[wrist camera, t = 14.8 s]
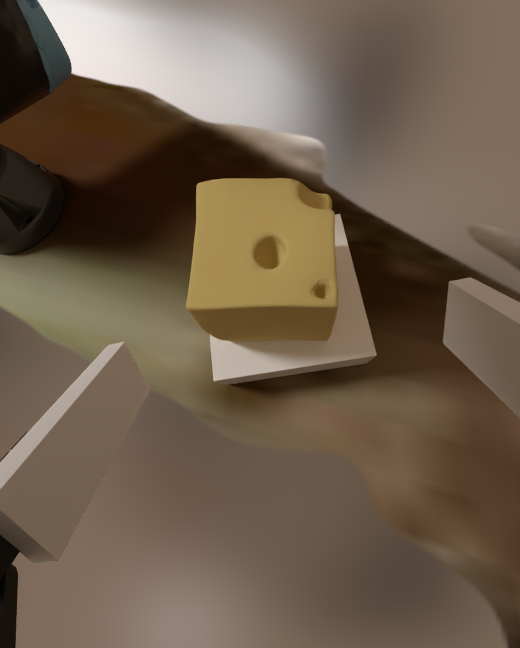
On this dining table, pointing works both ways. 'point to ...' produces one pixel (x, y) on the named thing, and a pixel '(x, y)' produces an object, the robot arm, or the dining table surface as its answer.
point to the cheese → (263, 261)
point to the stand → (304, 355)
